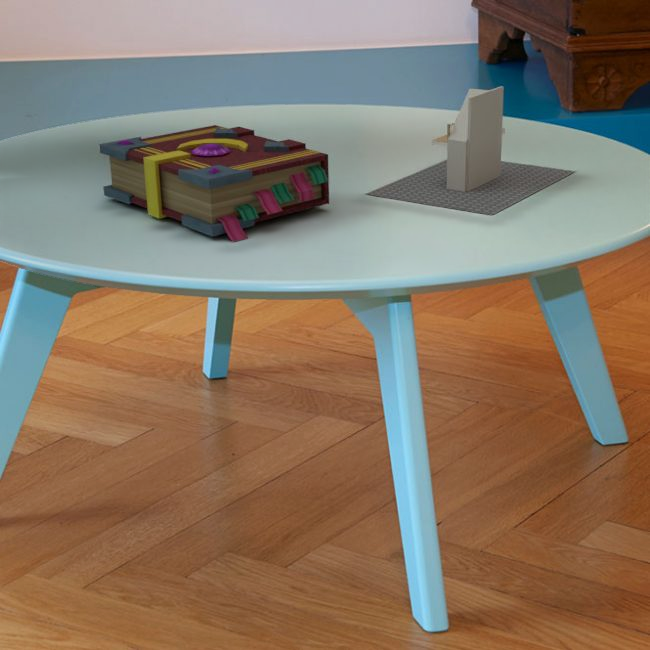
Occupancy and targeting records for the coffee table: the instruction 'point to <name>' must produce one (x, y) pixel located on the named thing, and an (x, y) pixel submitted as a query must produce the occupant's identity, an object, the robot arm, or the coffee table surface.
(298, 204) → the decorative book
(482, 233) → the coffee table surface
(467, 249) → the coffee table surface
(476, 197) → the architectural model
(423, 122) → the coffee table surface
